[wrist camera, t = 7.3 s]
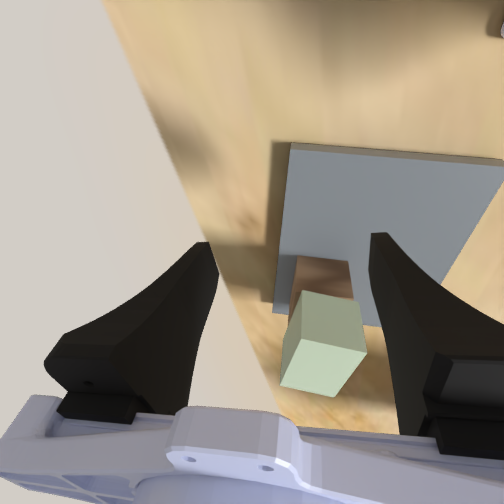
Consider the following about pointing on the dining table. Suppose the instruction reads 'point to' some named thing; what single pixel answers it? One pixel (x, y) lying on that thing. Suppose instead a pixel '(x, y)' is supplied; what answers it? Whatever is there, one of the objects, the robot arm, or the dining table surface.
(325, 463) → the robot arm
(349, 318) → the green brick
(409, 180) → the baseplate
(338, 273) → the walnut brick
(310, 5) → the dining table surface
